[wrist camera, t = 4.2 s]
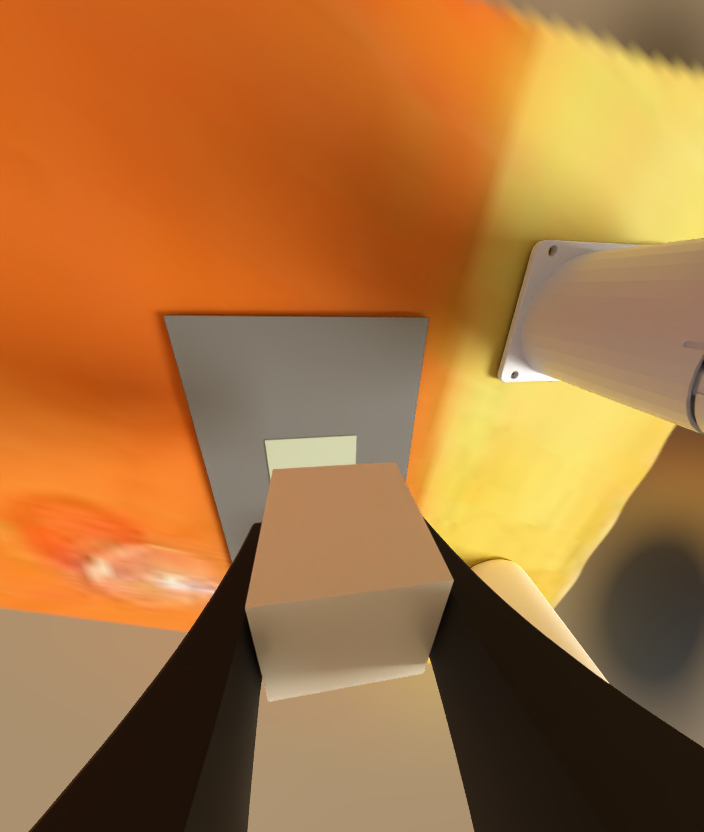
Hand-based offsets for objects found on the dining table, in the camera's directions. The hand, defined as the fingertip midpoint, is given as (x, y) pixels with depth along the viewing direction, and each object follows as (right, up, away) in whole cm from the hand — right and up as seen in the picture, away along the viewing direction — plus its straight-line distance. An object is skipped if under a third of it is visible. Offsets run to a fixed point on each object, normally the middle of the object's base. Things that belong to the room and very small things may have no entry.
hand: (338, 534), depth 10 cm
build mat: (-2, 0, +9) cm, 10 cm away
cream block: (0, 0, +1) cm, 1 cm away
